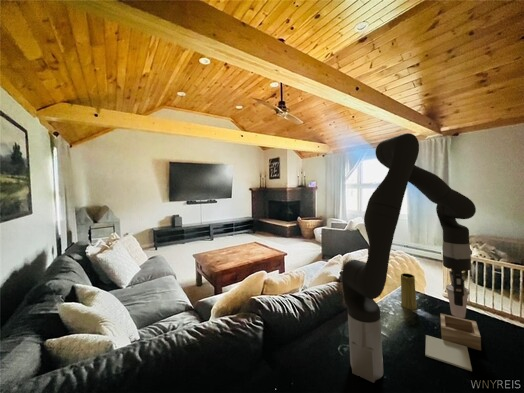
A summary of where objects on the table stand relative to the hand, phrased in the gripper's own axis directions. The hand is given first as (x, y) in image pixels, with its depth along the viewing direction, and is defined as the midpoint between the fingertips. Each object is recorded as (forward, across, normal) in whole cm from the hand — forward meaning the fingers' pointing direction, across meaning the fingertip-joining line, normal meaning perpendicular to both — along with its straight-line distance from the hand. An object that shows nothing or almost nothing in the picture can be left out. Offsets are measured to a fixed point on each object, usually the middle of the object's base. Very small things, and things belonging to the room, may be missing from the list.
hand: (457, 300), depth 78 cm
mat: (+13, +11, -4) cm, 18 cm away
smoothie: (+5, 0, 0) cm, 5 cm away
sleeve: (+13, 0, 0) cm, 13 cm away
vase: (+13, -14, -16) cm, 25 cm away
